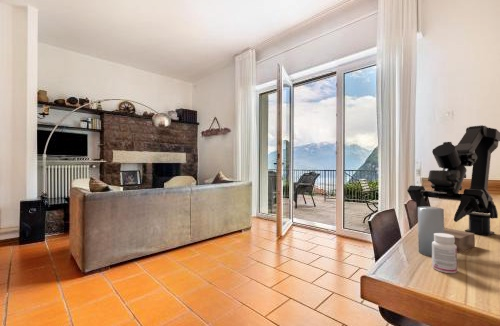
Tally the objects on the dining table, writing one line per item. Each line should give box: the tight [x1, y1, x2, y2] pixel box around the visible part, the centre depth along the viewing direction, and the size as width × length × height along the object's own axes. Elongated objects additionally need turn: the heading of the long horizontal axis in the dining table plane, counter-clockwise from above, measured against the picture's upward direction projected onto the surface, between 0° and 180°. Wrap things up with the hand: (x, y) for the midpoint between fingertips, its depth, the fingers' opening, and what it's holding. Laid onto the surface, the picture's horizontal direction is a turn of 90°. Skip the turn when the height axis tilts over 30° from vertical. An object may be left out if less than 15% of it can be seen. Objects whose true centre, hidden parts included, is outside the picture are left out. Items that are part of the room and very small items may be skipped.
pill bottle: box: [431, 233, 458, 274], centre depth 59 cm, size 5×5×8 cm
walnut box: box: [444, 227, 476, 253], centre depth 77 cm, size 10×10×4 cm
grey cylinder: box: [417, 206, 445, 258], centre depth 69 cm, size 6×6×13 cm
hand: (435, 217), depth 71 cm, fingers open, 9 cm apart
